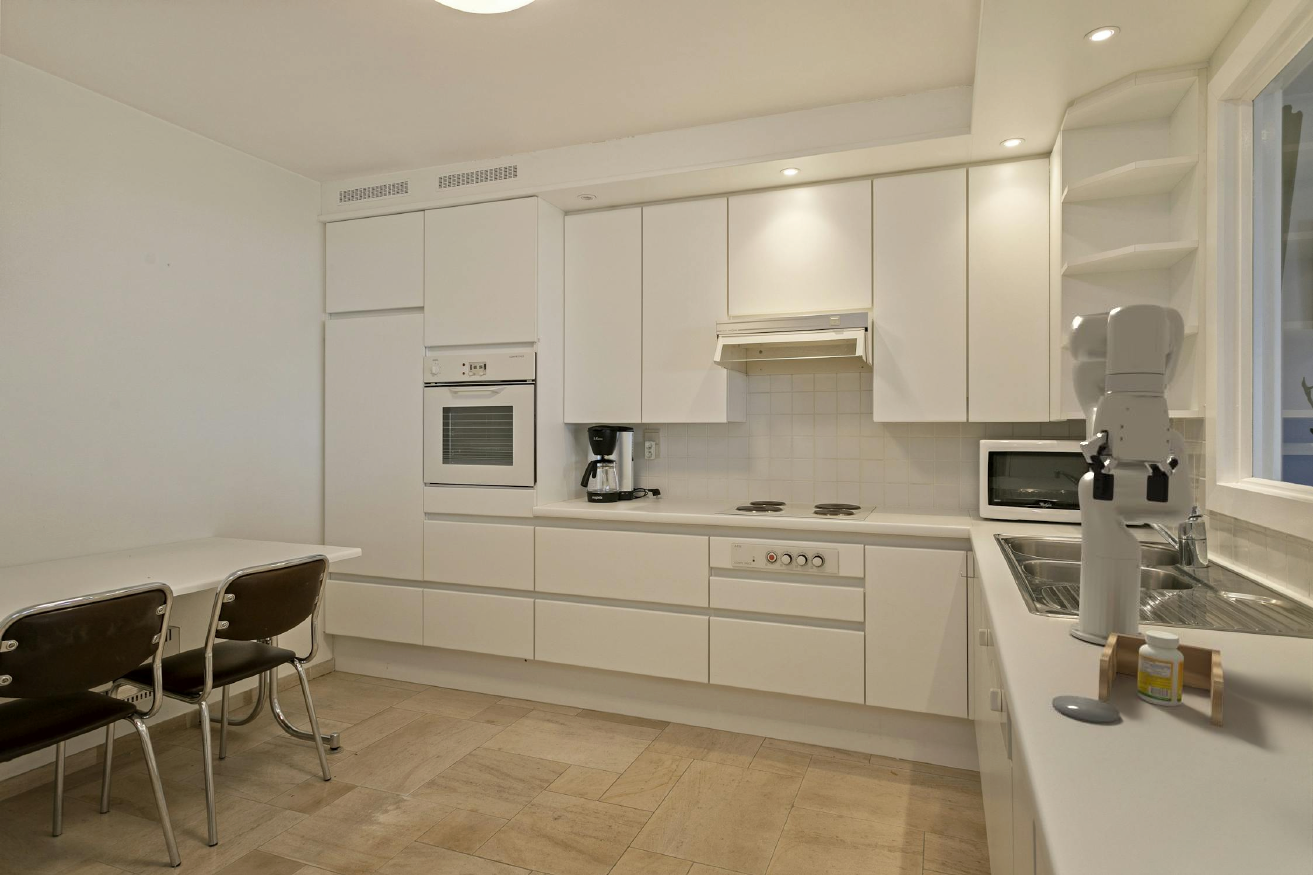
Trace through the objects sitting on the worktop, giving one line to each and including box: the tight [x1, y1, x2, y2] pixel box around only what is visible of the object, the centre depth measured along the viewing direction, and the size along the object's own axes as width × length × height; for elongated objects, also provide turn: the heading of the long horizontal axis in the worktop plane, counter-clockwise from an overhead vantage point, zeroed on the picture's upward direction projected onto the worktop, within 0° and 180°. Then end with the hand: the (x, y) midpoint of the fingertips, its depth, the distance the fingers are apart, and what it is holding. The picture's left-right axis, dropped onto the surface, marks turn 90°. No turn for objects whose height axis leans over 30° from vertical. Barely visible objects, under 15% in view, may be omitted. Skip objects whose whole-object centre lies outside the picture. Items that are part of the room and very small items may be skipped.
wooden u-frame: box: [1097, 632, 1224, 727], centre depth 106 cm, size 17×14×6 cm
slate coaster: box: [1051, 695, 1120, 724], centre depth 100 cm, size 8×8×1 cm
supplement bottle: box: [1136, 630, 1184, 707], centre depth 104 cm, size 5×5×10 cm
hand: (1130, 500), depth 109 cm, fingers open, 9 cm apart
